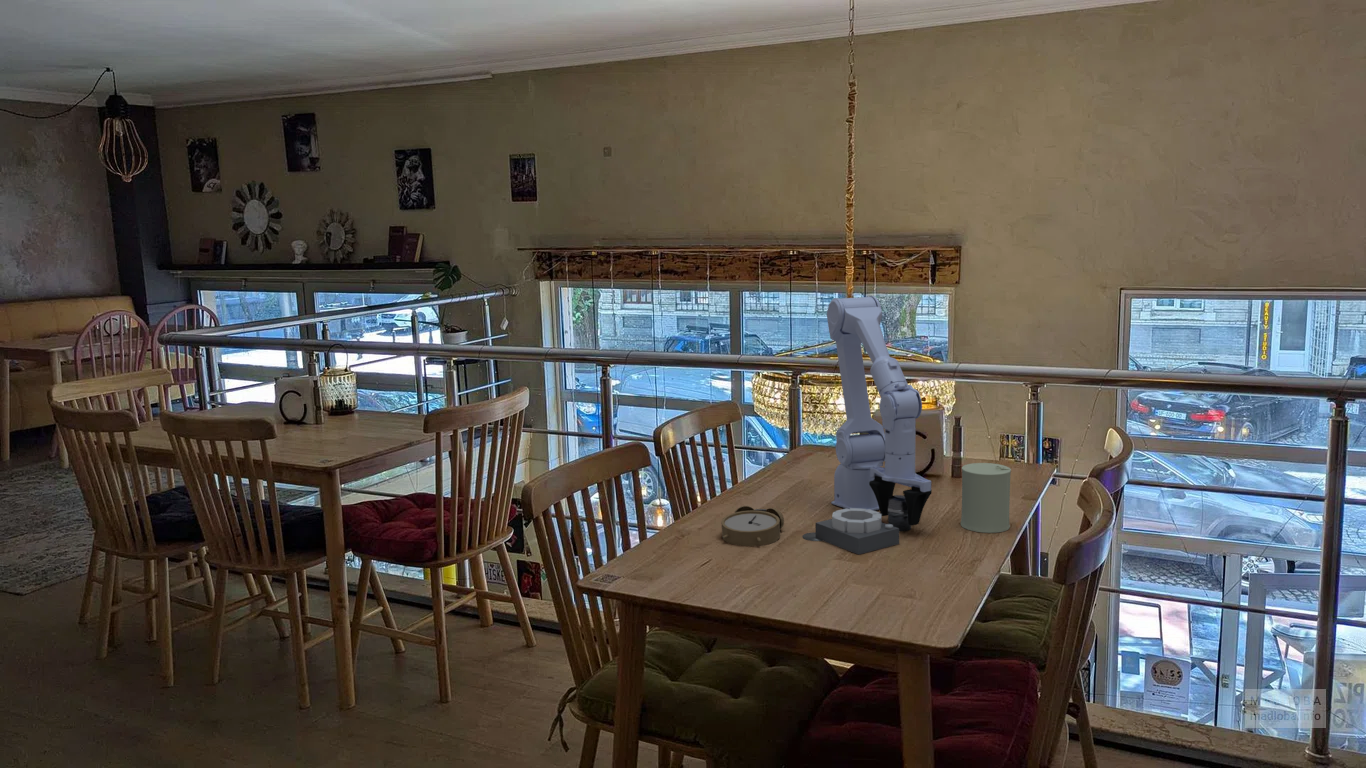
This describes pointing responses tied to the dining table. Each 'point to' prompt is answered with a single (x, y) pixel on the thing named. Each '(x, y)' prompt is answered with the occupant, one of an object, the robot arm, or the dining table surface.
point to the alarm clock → (752, 526)
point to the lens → (898, 512)
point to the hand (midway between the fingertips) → (899, 519)
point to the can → (985, 497)
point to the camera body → (857, 531)
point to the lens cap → (811, 536)
